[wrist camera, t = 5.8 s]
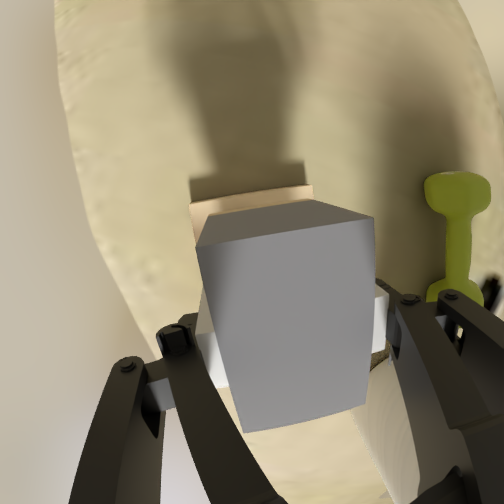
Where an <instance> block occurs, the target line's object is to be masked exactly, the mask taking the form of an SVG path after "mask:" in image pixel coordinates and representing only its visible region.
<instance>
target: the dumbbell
mask: <svg viewBox="0 0 504 504" xmlns="http://www.w3.org/2000/svg"><path fill="white" fill-rule="evenodd" d="M424 192H425V198H426V201H427V203H428V205H429V206H430V207H431V208H432V209H433V210H434V211H436V212H438V213H440V214H443V215H445V217H446V252H445V269H446V277H445V278H444V279H441V280H439V281H437V282H435V283H433V284H431V285H430V286H429V287H428V289H427V293H426V302H434V301H437V298H438V293H439V292H440V291H442V290H445V289H454V290H458V291H460V292H462V293H463V294H465V295H466V296H468V297H469V298H471V299H472V300H474V301H475V302H477V303H478V304H480V305H481V306H482V307H483V305H484V299H483V295H482V293H481V290H480V289H479V287H478V286H477V284H476V283H475V282H473V281H471V280H469V279H468V276H469V270H470V263H471V247H472V234H471V220H472V218H473V217H474V216H475V215H476V214H478V213H480V212H482V211H484V210H485V209H486V208H487V207H488V206H489V204H490V202H491V187H490V184H489V182H488V181H487V179H485V178H484V177H482V176H480V175H478V174H474V173H470V172H462V171H450V172H442V173H437V174H434V175H431V176H429V177H428V178H426V180H425V181H424ZM459 328H461V327H460V326H459Z"/></svg>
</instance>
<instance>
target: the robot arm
mask: <svg viewBox="0 0 504 504" xmlns="http://www.w3.org/2000/svg"><path fill="white" fill-rule="evenodd" d="M459 326H460V327H461V328H462V329H463V332H462V336H461V338H459V337H458V336H457V333H458V329H459ZM386 338H387V340H388V341H389V342H390V343H391V345H390V353H389V360H388V366H390V365H391V361H393V364H394V367H395V371H396V374H397V377H398V381H399V384H400V388H401V391H402V395H403V399H404V403H405V406H406V410H407V414H408V419H409V423H410V427H411V431H412V436H413V441H414V445H415V450H416V455H417V461H418V466H419V472H420V482H419V486H418V493H417V498H416V499H415V500H413V501H412V502H411V503H410V504H504V321H502V320H501V319H499V318H498V317H497V316H495V315H494V314H492V313H491V312H490V311H488V310H487V309H485V308H484V307H482V306H481V305H480V304H478V303H477V302H475V301H474V300H472V299H471V298H469V297H468V296H466V295H465V294H463V293H462V292H460V291H458V290H454V289H445V290H442V291H440V292H439V293H438V298H437V301H434V302H424V300H423V299H422V298H421V297H420V296H417V295H413V294H404V295H402V294H400V293H399V292H397V291H396V290H395V289H393V288H391V286H389V285H387V284H386V283H385V282H384V281H382V280H380V279H377V278H375V311H374V329H373V343H372V353H375V352H378V351H381V350H384V349H385V343H386ZM156 339H157V342H158V345H159V348H160V350H161V353H162V356H163V358H161V359H159V360H157V361H154V362H151V363H147V364H144V361H143V360H142V359H141V358H140V357H137V356H130V357H125V358H123V359H120V360H119V361H118V362H117V363H115V364H114V366H113V367H112V370H111V372H110V375H109V377H108V380H107V382H106V385H105V387H104V390H103V393H102V395H101V398H100V401H99V404H98V406H97V409H96V412H95V415H94V418H93V420H92V423H91V427H90V430H89V432H88V435H87V439H86V442H85V445H84V448H83V451H82V455H81V458H80V461H79V465H78V468H77V472H76V476H75V479H74V483H73V487H72V491H71V495H70V499H69V503H68V504H160V491H161V469H162V452H163V439H164V427H165V415H166V410H168V409H171V408H175V407H176V409H177V412H178V416H179V419H180V422H181V425H182V428H183V432H184V435H185V438H186V441H187V444H188V446H189V449H190V452H191V455H192V458H193V461H194V463H195V466H196V469H197V471H198V474H199V476H200V479H201V481H202V484H203V486H204V489H205V491H206V493H207V496H208V498H209V501H210V503H211V504H288V503H287V502H286V501H285V500H284V498H283V497H281V496H280V495H278V494H277V492H276V491H275V490H274V488H273V487H272V485H271V484H270V482H269V481H268V479H267V477H266V476H265V474H264V473H263V471H262V470H261V468H260V466H259V465H258V463H257V461H256V460H255V458H254V457H253V455H252V453H251V452H250V450H249V448H248V446H247V445H246V443H245V441H244V440H243V438H242V436H241V434H240V433H239V431H238V429H237V427H236V425H235V424H234V422H233V420H232V418H231V416H230V414H229V413H228V411H227V409H226V407H225V405H224V403H223V401H222V399H221V397H220V395H219V393H218V392H217V390H216V388H222V387H229V383H228V380H227V376H226V373H225V369H224V365H223V362H222V358H221V354H220V351H219V347H218V343H217V339H216V335H215V331H214V327H213V323H212V319H211V315H210V311H209V307H208V303H207V298H206V294H205V290H204V285H203V289H202V294H201V300H200V306H199V312H198V313H191V314H184V315H183V316H182V317H181V318H180V319H179V321H178V323H175V324H170V325H168V326H165V327H163V328H162V329H160V330H159V331H158V332H157V333H156Z"/></svg>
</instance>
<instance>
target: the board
mask: <svg viewBox="0 0 504 504" xmlns="http://www.w3.org/2000/svg"><path fill="white" fill-rule="evenodd" d="M307 198H309V199H312V200H314V196H313V188H312V185H308V184H303V185H295V186H287V187H280V188H273V189H266V190H260V191H253V192H247V193H241V194H235V195H229V196H223V197H217V198H211V199H206V200H200V201H195V202H191V203H190V204H189V205H188V206H189V211H190V216H191V221H192V227H193V232H194V237H195V242H196V244H197V242H198V239H199V237H200V234H201V232H202V229H203V227H204V225H205V222H206V220H207V217H208V215H209V214H212V213H218V212H224V211H229V210H235V209H241V208H247V207H253V206H260V205H266V204H272V203H279V202H286V201H293V200H300V199H307Z"/></svg>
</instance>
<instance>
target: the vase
mask: <svg viewBox="0 0 504 504" xmlns="http://www.w3.org/2000/svg"><path fill="white" fill-rule="evenodd" d="M388 360H389V358H387V359H386V360H384V361H383V362H381V363H380V364H379V365H377V366H376V367H375V368H374V369H373V370H372V371H370V373H369V381H368V389H367V396H366V403H365V404H364V405H361V406H358V407H355V408H352V409H350V411H351V414H352V418H353V420H354V422H355V425H356V427H357V429H358V431H359V433H360V436H361V438H362V440H363V442H364V444H365V446H366V448H367V450H368V452H369V454H370V456H371V458H372V460H373V462H374V464H375V466H376V468H377V470H378V472H379V474H380V476H381V478H382V480H383V482H384V484H385V486H386V488H387V490H388V492H389V494H390V496H391V498H392V500H393V502H394V504H410V503H411V502H412V501H413V500H415V499H416V498H417V493H418V486H419V482H420V472H419V466H418V461H417V455H416V450H415V445H414V441H413V436H412V431H411V427H410V423H409V419H408V414H407V410H406V406H405V403H404V399H403V395H402V391H401V388H400V384H399V381H398V377H397V374H396V371H395V367H394V364H393V361H391V365H390V366H388Z"/></svg>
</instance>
